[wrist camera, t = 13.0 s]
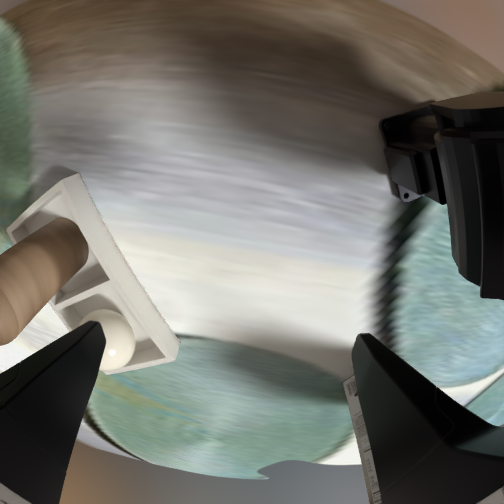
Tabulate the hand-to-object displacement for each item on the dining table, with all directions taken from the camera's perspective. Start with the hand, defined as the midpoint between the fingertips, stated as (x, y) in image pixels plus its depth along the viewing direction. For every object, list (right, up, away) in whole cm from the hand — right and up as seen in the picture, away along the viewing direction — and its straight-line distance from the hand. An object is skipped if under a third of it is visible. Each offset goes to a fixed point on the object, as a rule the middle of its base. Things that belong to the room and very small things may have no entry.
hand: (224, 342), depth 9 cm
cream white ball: (-12, -4, +16) cm, 20 cm away
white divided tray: (-14, 0, +14) cm, 20 cm away
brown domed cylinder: (-15, +4, +12) cm, 20 cm away
